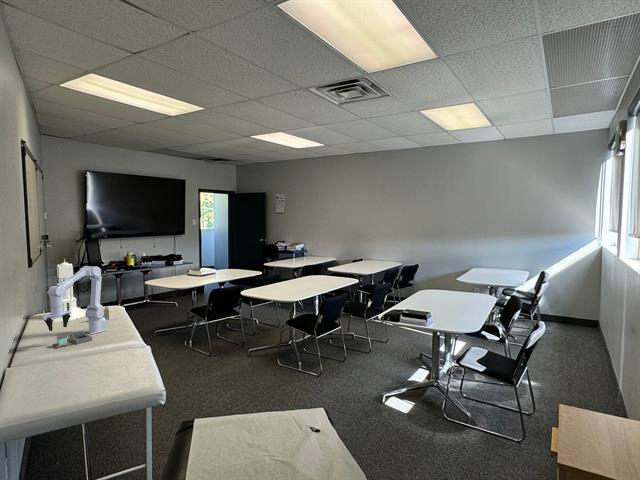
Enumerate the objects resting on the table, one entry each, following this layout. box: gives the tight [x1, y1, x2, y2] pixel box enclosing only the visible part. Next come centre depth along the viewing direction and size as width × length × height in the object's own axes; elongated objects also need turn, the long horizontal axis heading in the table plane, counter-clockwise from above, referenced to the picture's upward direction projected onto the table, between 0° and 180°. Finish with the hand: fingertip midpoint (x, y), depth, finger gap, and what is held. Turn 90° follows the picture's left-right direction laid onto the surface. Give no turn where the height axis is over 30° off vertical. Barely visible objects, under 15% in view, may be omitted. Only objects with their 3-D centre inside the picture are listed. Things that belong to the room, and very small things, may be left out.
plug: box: [56, 334, 68, 346], centre depth 213 cm, size 4×4×6 cm
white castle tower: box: [51, 258, 86, 323], centre depth 273 cm, size 28×28×45 cm
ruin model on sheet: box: [103, 306, 110, 321], centre depth 264 cm, size 11×3×10 cm, turn 125°
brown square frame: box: [52, 340, 73, 350], centre depth 213 cm, size 7×7×1 cm
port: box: [67, 330, 93, 345], centre depth 222 cm, size 8×13×4 cm, turn 53°
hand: (58, 328), depth 213 cm, fingers open, 7 cm apart
